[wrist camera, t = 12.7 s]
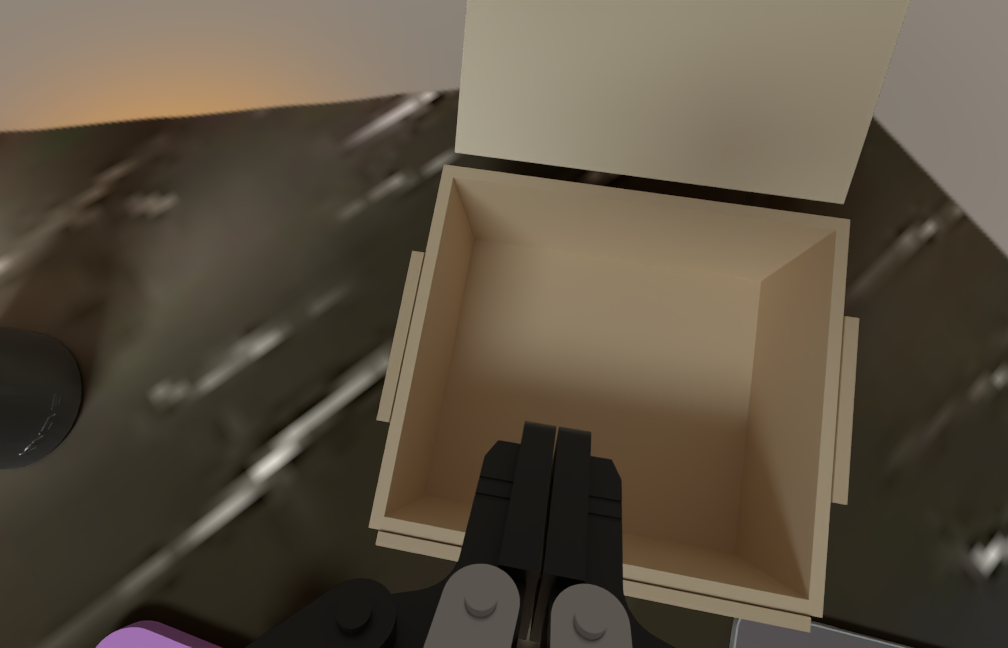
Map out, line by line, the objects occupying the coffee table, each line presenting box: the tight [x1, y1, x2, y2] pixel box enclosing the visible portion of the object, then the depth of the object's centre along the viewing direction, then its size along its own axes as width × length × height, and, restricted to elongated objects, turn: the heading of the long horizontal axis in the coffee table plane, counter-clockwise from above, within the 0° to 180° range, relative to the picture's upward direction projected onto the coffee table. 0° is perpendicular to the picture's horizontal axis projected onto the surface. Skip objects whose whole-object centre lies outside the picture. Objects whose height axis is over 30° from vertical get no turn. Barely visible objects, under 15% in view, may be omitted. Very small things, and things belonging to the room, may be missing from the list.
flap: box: [455, 0, 911, 204], centre depth 27 cm, size 19×9×1 cm
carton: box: [369, 165, 859, 633], centre depth 31 cm, size 21×19×10 cm
